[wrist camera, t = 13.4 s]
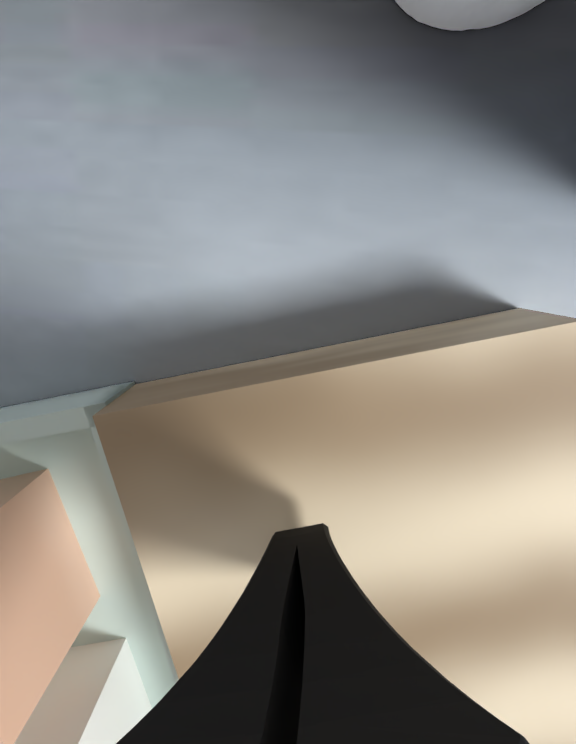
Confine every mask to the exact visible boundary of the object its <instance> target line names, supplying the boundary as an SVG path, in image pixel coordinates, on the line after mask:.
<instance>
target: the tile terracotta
mask: <svg viewBox="0 0 576 744" xmlns="http://www.w3.org/2000/svg"><path fill="white" fill-rule="evenodd" d="M99 598H100V594H99V591H98V589H97V586H96V584H95V581H94V579H93V576H92V574H91V572H90V569H89V567H88V564H87V562H86V559H85V557H84V554H83V552H82V550H81V547H80V545H79V542H78V540H77V537H76V535H75V532H74V530H73V528H72V525H71V523H70V520H69V518H68V515H67V513H66V510H65V508H64V506H63V503H62V501H61V498H60V496H59V493H58V491H57V489H56V486H55V484H54V481H53V479H52V476H51V474H50V471H49V469H44V470H39V471H35V472H30V473H26V474H22V475H17V476H13V477H9V478H4V479H0V744H14V743H15V741H16V739H17V738H18V736H19V734H20V733H21V731H22V729H23V728H24V726H25V724H26V722H27V721H28V719H29V717H30V716H31V714H32V712H33V710H34V709H35V707H36V705H37V704H38V702H39V700H40V699H41V697H42V695H43V693H44V692H45V690H46V688H47V687H48V685H49V683H50V681H51V680H52V678H53V676H54V675H55V673H56V671H57V670H58V668H59V666H60V664H61V663H62V661H63V659H64V658H65V656H66V654H67V653H68V651H69V649H70V647H71V646H72V644H73V642H74V641H75V639H76V637H77V635H78V634H79V632H80V630H81V629H82V627H83V625H84V624H85V622H86V620H87V618H88V617H89V615H90V613H91V612H92V610H93V608H94V606H95V605H96V603H97V601H98V600H99Z"/></svg>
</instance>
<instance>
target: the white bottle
mask: <svg viewBox="0 0 576 744" xmlns="http://www.w3.org/2000/svg"><path fill="white" fill-rule="evenodd" d="M395 1H396V3H397V4H398V5H399V6H400V7H401V8H402V9H403V10H404V11H405V12H406V13H407V14H408V15H410V16H411V17H413V18H414V19H415V20H417V21H418V22H421V23H423V24H427V25H429V26H431V27H436V28H440V29H445V30H452V31H455V30H458V31H464V30H468V29H482V28H488V27H492V26H495V25H498V24H501V23H504V22H506V21H508V20H510V19H513V18H515V17H518V16H520V15H522V14H524V13H526V12H527V11H529V10H531V9H532V8H534V7H535V6H537V5H539V4H541V3H542V2H544V1H545V0H395Z"/></svg>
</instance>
